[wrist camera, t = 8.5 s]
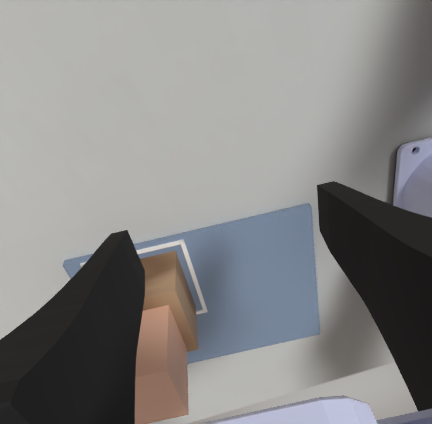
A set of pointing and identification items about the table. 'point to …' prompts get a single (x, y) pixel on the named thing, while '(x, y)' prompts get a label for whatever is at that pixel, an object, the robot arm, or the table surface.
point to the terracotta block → (160, 368)
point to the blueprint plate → (245, 280)
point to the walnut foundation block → (171, 293)
